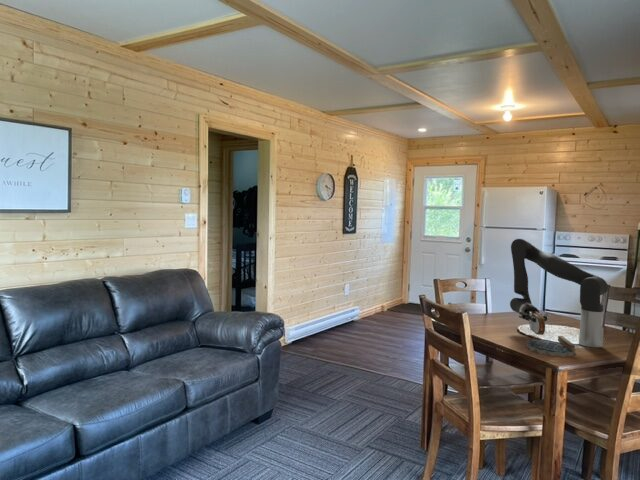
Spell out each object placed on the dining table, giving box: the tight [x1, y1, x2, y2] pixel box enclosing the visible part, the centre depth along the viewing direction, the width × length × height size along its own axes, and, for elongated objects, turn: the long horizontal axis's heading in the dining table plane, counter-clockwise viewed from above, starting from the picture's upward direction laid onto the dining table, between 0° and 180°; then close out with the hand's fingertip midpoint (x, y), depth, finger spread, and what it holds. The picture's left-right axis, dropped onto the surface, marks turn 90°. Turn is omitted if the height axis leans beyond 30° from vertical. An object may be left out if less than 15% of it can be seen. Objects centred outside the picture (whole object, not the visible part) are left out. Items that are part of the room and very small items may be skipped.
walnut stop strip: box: [557, 335, 576, 351], centre depth 216 cm, size 2×16×2 cm, turn 170°
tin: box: [528, 313, 546, 336], centre depth 218 cm, size 15×3×8 cm, turn 173°
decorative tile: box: [525, 339, 576, 358], centre depth 216 cm, size 20×20×2 cm
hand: (538, 320), depth 215 cm, fingers closed on tin, 3 cm apart
